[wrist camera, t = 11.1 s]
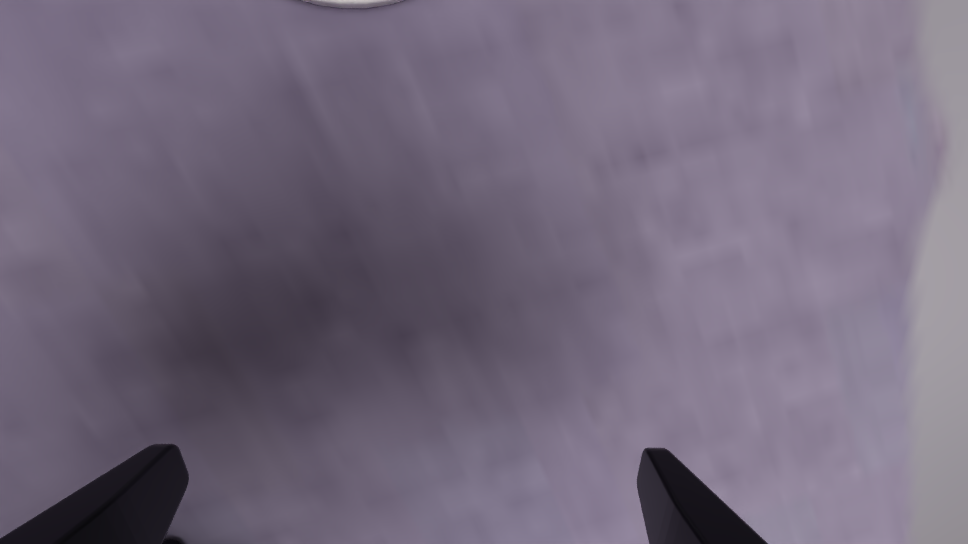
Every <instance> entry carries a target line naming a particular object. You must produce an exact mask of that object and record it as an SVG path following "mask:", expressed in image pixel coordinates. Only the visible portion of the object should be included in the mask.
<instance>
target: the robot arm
mask: <svg viewBox="0 0 968 544" xmlns="http://www.w3.org/2000/svg"><path fill="white" fill-rule="evenodd" d="M188 480H189V474H188V471H187V468H186V465H185V463H184V460H183V458H182V455H181V452H180V450H179V448H178V447H177V446H176V445H174V444H154V445H151V446H149V447H147V448H145V449H144V450H142V451H141V452H139V453H137V454H136V455H134V456H132V457H131V458H129V459H128V460H126V461H124V462H123V463H121V464H120V465H118V466H116V467H115V468H113V469H112V470H110V471H108V472H107V473H105V474H103V475H102V476H100V477H99V478H97V479H95V480H94V481H92V482H91V483H89V484H87V485H86V486H84V487H83V488H81V489H79V490H78V491H76V492H75V493H73V494H71V495H70V496H68V497H66V498H65V499H63V500H62V501H60V502H58V503H57V504H55V505H54V506H52V507H50V508H49V509H47V510H46V511H44V512H42V513H41V514H39V515H37V516H36V517H34V518H33V519H31V520H29V521H28V522H26V523H25V524H23V525H21V526H20V527H18V528H17V529H15V530H13V531H12V532H10V533H8V534H7V535H5V536H4V537H2V538H0V544H181V543H180V542H178V541H175V540H166V541H163V540H164V538H165V536H166V533H167V531H168V529H169V527H170V524H171V522H172V520H173V518H174V515H175V513H176V511H177V509H178V506H179V504H180V502H181V500H182V497H183V495H184V493H185V491H186V488H187V485H188ZM637 488H638V494H639V498H640V503H641V508H642V512H643V517H644V521H645V526H646V530H647V535H648V540H649V544H768V543H767V542H766V541H765V540H763V539H762V538H761V537H760V536H759V535H758V534H757V533H756V532H755V531H754V530H753V529H752V528H751V527H750V526H749V525H748V524H746V523H745V522H744V521H743V520H742V519H741V518H740V517H739V516H738V515H737V514H736V513H735V512H734V511H733V510H732V509H731V508H729V507H728V506H727V505H726V504H725V503H724V502H723V501H722V500H721V499H720V498H719V497H718V496H717V495H716V494H715V493H713V492H712V491H711V490H710V489H709V488H708V487H707V486H706V485H705V484H704V483H703V482H702V481H701V480H700V479H699V478H698V477H696V476H695V475H694V474H693V473H692V472H691V471H690V470H689V469H688V468H687V467H686V466H685V465H684V464H683V463H682V462H681V461H679V460H678V459H677V458H676V457H675V456H674V455H673V454H672V453H671V452H670V451H669V450H667V449H665V448H645V449H644V450H643V453H642V457H641V462H640V466H639V471H638V476H637Z"/></svg>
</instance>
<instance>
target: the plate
mask: <svg viewBox="0 0 968 544" xmlns="http://www.w3.org/2000/svg"><path fill="white" fill-rule="evenodd" d="M301 1H305V2H308V3H312V4H316V5H321V6H329V7H336V8H372V7H378V6H385V5H391V4H394V3H397V2H401V1H404V0H301Z"/></svg>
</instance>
